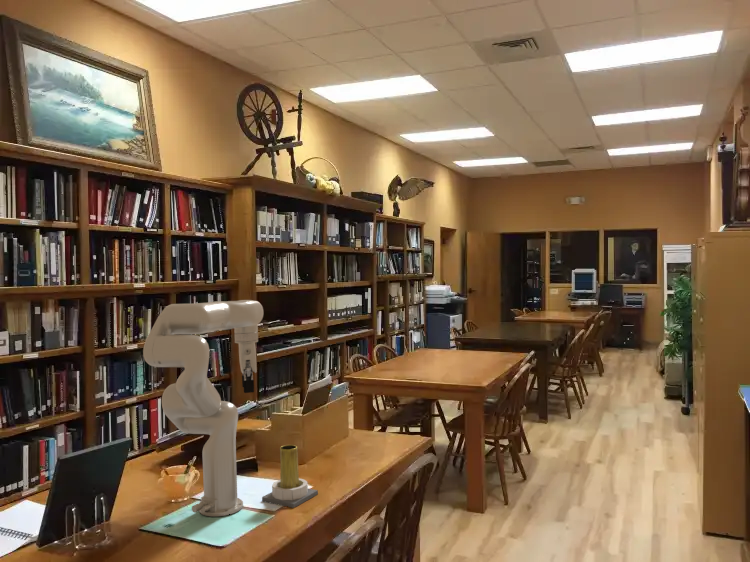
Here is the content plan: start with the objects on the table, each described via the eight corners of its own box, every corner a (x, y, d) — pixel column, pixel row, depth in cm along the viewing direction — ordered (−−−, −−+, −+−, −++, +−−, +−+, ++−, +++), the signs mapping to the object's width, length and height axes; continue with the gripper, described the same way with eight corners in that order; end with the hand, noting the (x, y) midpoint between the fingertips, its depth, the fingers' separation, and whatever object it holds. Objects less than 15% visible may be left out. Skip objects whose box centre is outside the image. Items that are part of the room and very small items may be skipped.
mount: (293, 507, 182) (293, 493, 181) (262, 501, 188) (261, 487, 187) (317, 494, 192) (317, 480, 192) (287, 488, 198) (286, 475, 198)
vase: (289, 498, 185) (288, 451, 185) (275, 494, 189) (274, 448, 189) (304, 492, 190) (302, 446, 190) (289, 488, 194) (288, 443, 194)
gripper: (259, 340, 197) (261, 393, 197) (256, 334, 214) (257, 384, 214) (235, 341, 195) (237, 395, 195) (233, 335, 212) (235, 385, 212)
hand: (248, 389), depth 205 cm, fingers open, 9 cm apart
